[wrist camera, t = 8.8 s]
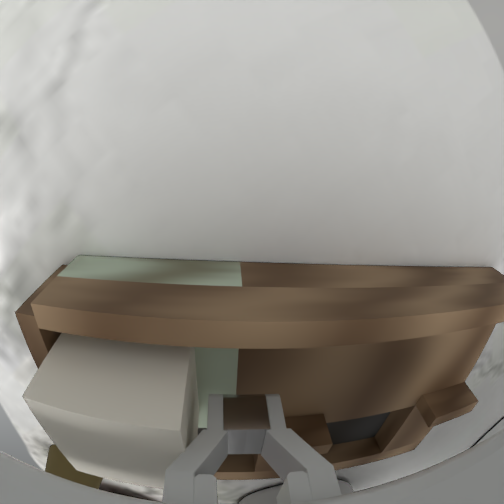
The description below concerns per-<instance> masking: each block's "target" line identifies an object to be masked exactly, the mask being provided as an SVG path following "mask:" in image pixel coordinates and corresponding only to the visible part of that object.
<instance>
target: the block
mask: <svg viewBox="0 0 504 504" xmlns="http://www.w3.org/2000/svg"><path fill="white" fill-rule="evenodd" d="M22 397H23V399H24V400H25V402H26V403H27V405H28V407H29V408H30V410H31V411H32V413H33V414H34V416H35V417H36V419H37V420H38V422H39V423H40V425H41V426H42V427H43V429H44V430H45V432H46V433H47V434H48V436H49V437H50V438H51V440H52V441H53V442H54V444H55V445H56V446H57V447H58V449H59V450H60V451H61V452H62V454H63V455H64V456H65V457H66V458H67V460H68V461H69V462H70V463H71V464H72V465H73V467H74V468H75V469H76V470H77V471H81V472H84V473H87V474H91V475H95V476H98V477H102V478H106V479H110V480H115V481H119V482H124V483H129V484H134V485H139V486H145V487H151V488H158V489H164V481H165V473H166V469H167V468H168V467H169V466H170V465H171V464H172V463H173V462H174V461H175V460H176V459H177V458H178V457H179V455H180V454H181V453H182V452H185V449H186V448H187V447H188V446H189V445H190V443H191V442H192V441H193V440H194V439H195V438H196V437H197V436H198V420H199V401H198V389H197V376H196V361H195V347H183V346H168V345H155V344H144V343H134V342H125V341H116V340H108V339H100V338H93V337H86V336H79V335H73V334H67V333H61V335H60V336H59V337H58V339H57V340H56V342H55V343H54V345H53V347H52V348H51V350H50V351H49V353H48V354H47V356H46V357H45V359H44V361H43V362H42V364H41V365H40V367H39V369H38V370H37V372H36V374H35V375H34V377H33V378H32V380H31V382H30V384H29V385H28V387H27V389H26V390H25V392H24V394H23V396H22Z"/></svg>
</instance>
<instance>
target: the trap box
mask: <svg viewBox="0 0 504 504" xmlns="http://www.w3.org/2000/svg"><path fill="white" fill-rule="evenodd" d="M15 314H16V317H17V319H18V322H19V325H20V328H21V330H22V333H23V335H24V338H25V340H26V343H27V345H28V347H29V350H30V352H31V354H32V357H33V359H34V361H35V363H36V365H37V368H38V369H39V367H40V365H41V364H42V362H43V361H44V359H45V357H46V356H47V354H48V353H49V351H50V350H51V348H52V347H53V345H54V343H55V342H56V340H57V339H58V337H59V336H60V335H61V333H67V334H73V335H79V336H86V337H93V338H100V339H108V340H116V341H125V342H134V343H144V344H155V345H168V346H183V347H195V361H196V376H197V389H198V401H199V420H198V435H199V433H200V432H201V431H202V430H203V429H206V430H207V417H208V396H209V394H232V395H242V394H279V395H280V398H281V403H282V408H283V413H284V418H285V423H286V428H291V429H292V430H293V431H294V432H295V433H296V434H297V435H298V436H300V437H301V438H302V439H303V440H304V441H305V442H306V443H307V444H309V445H310V446H311V447H312V448H313V449H314V450H315V451H317V452H318V453H319V454H320V455H321V456H322V457H324V458H325V459H326V460H327V461H328V462H330V463H331V464H332V465H333V466H334V470H339V469H344V468H349V467H354V466H358V465H363V464H367V463H371V462H375V461H378V460H382V459H386V458H389V457H393V456H396V455H399V454H402V453H405V452H408V451H411V450H414V449H415V448H416V447H417V446H418V444H419V443H420V442H421V441H422V440H423V438H424V437H425V436H426V435H427V434H428V432H429V431H430V430H431V429H432V427H433V426H436V425H439V424H441V423H444V422H446V421H449V420H452V419H454V418H456V417H459V416H461V415H464V414H466V413H468V412H470V411H472V409H473V408H474V407H475V405H476V404H477V403H478V400H477V398H476V397H475V396H474V394H473V393H472V392H471V390H470V389H469V387H468V386H467V385H466V383H465V380H466V378H467V377H468V375H469V374H470V372H471V370H472V368H473V367H474V365H475V363H476V362H477V360H478V358H479V356H480V354H481V352H482V351H483V349H484V347H485V345H486V343H487V341H488V339H489V337H490V335H491V333H492V331H493V329H494V327H495V325H496V323H500V322H504V275H503V274H501V273H500V272H498V271H497V270H495V269H494V268H493V267H419V266H367V265H325V264H289V263H256V262H226V261H199V260H173V259H148V258H125V257H103V256H82V255H78V256H77V257H76V258H75V259H74V260H73V261H72V262H71V263H70V264H69V265H62V266H61V267H59V268H58V269H57V270H56V271H55V272H54V273H53V274H52V275H51V276H50V277H49V278H48V279H47V280H46V281H45V282H44V283H43V284H42V285H41V286H40V287H39V288H38V289H37V290H36V291H35V292H34V293H33V294H32V295H31V296H30V297H29V298H28V299H27V300H26V301H25V302H24V303H23V304H22V305H21V306H20V308H19V309H18V310H17V311H16V312H15ZM214 477H216V480H248V479H269V478H280V477H279V476H278V474H277V473H276V472H275V471H274V470H273V469H272V467H271V466H270V465H269V464H268V463H267V462H266V460H265V459H264V458H263V457H262V456H261V454H227V457H226V459H225V460H224V461H223V463H222V464H221V466H220V467H219V469H218V470H217V471H216V473H215V474H214Z"/></svg>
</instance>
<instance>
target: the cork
mask: <svg viewBox="0 0 504 504" xmlns="http://www.w3.org/2000/svg"><path fill="white" fill-rule="evenodd" d="M45 472H48V473H50V474H53V475H55V476H58V477H61V478H64V479H67V480H69V481H72V482H76V483H79V484H82V485H85V486H88V487H92V488H95V489H99V486H100V484H101V481H102V479H103V478H102V477H98V476H95V475H91V474H87V473H84V472H81V471H77V470H76V469H75V468H74V467H73V465H72V464H71V463H70V462H69V461H68V460H67V458H66V457H65V456H64V455H63V454H62V452H61V451H60V450H59V449H58V447H57V446H56V445H51V446H50V448H49V453H48V458H47V464H46V469H45Z"/></svg>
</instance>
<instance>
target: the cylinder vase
mask: <svg viewBox="0 0 504 504" xmlns="http://www.w3.org/2000/svg"><path fill="white" fill-rule="evenodd" d="M338 484H339V487H340V491H341V494H342V495H344V494H348V493H352V492H353V489H352V486H351V485H350V484H349V483H347V482H345V481H342V480H338ZM281 487H282V485H279V486H275V487H271V488H267V489H264V490H260V491H258V492H255V493H252V494H250V495H248V496H246V497H245V498H243V499H242V500H241V501H240V502H239V503H238V504H277V499H276V497H277V495H278V493H279V491H280V489H281Z"/></svg>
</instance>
